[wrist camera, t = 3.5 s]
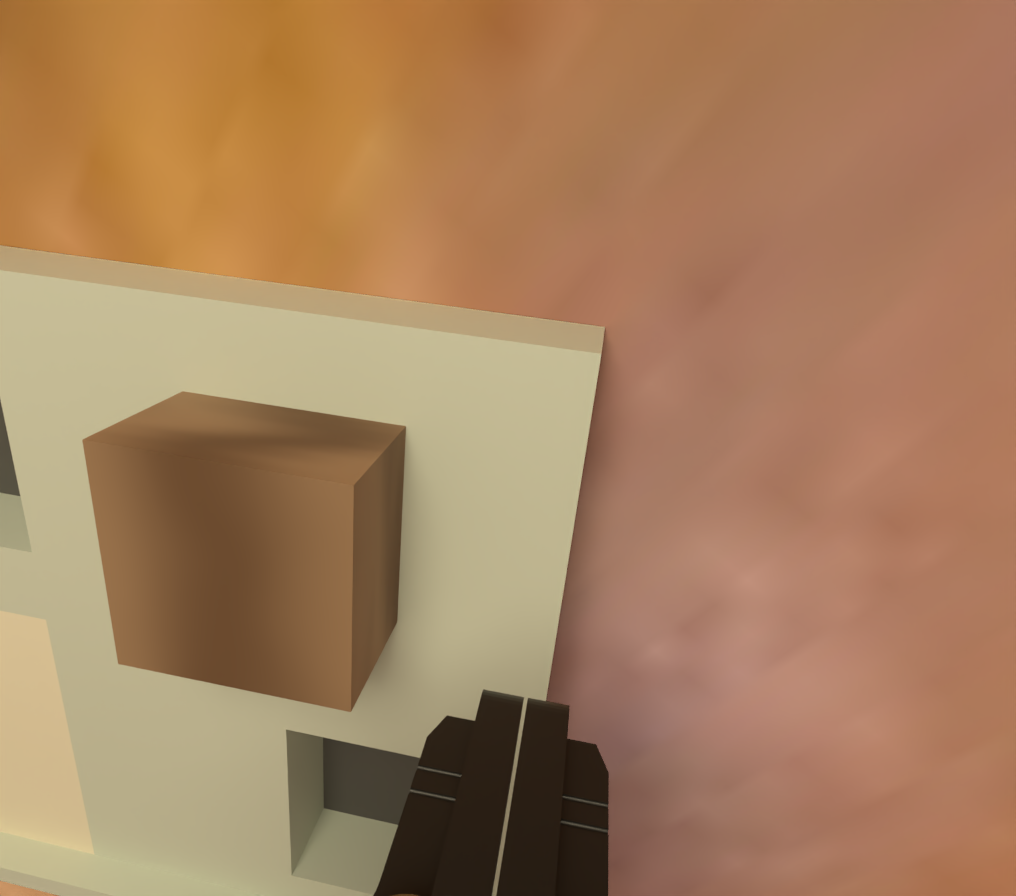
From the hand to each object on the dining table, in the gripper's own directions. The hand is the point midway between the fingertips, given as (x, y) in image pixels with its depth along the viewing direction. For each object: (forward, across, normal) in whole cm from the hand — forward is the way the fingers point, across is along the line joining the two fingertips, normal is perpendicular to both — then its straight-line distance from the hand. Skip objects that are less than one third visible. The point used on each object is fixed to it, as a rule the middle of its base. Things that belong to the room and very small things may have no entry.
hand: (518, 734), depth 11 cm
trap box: (+10, +11, +6) cm, 16 cm away
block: (+6, +7, 0) cm, 9 cm away
